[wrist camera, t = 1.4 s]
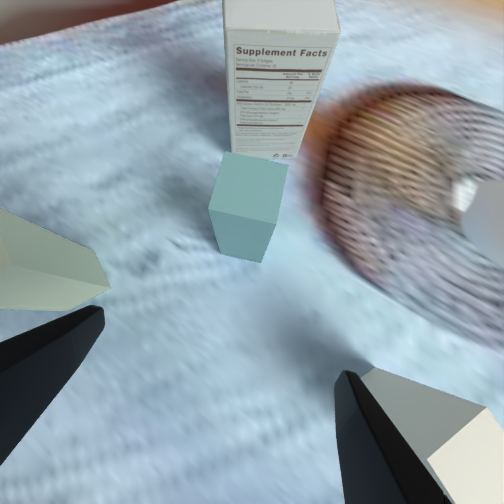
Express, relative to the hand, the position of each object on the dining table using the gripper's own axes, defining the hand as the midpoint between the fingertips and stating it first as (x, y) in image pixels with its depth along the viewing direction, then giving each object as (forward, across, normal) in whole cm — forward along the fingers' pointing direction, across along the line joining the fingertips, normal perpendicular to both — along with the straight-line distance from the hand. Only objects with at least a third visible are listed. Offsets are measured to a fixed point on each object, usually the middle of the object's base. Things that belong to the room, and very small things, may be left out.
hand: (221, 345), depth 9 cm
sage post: (+10, +14, +8) cm, 20 cm away
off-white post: (+8, -13, +11) cm, 19 cm away
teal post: (+16, +1, +3) cm, 16 cm away
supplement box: (+24, +2, -6) cm, 25 cm away
